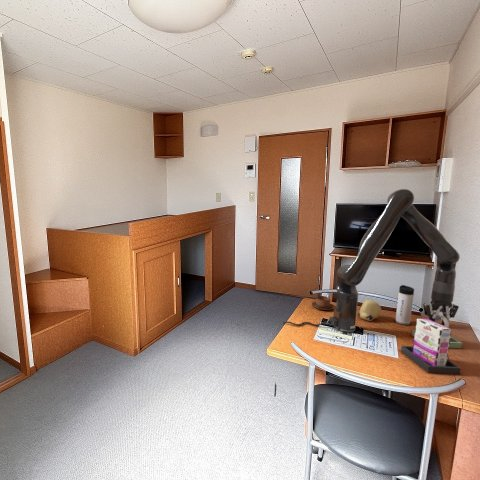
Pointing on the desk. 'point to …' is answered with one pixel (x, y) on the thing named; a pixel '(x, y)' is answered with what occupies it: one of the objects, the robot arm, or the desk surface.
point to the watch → (438, 318)
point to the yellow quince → (369, 310)
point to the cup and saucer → (323, 303)
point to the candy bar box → (431, 342)
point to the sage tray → (453, 342)
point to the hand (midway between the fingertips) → (437, 325)
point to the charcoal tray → (447, 369)
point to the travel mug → (404, 305)
